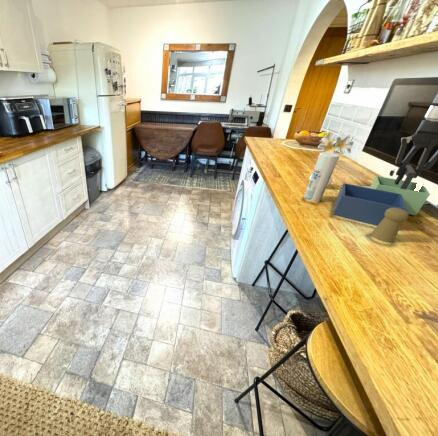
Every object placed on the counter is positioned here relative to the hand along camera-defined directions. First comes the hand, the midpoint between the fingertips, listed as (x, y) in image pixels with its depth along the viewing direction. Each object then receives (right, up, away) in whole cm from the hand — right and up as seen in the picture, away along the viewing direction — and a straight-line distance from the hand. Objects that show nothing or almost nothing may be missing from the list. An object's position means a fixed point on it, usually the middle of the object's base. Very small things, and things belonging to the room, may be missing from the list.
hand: (400, 184), depth 93 cm
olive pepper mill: (-23, -20, -15) cm, 34 cm away
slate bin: (-17, -12, -1) cm, 21 cm away
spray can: (-28, -6, +10) cm, 30 cm away
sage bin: (0, -8, +5) cm, 9 cm away
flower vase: (-15, +2, +24) cm, 28 cm away
